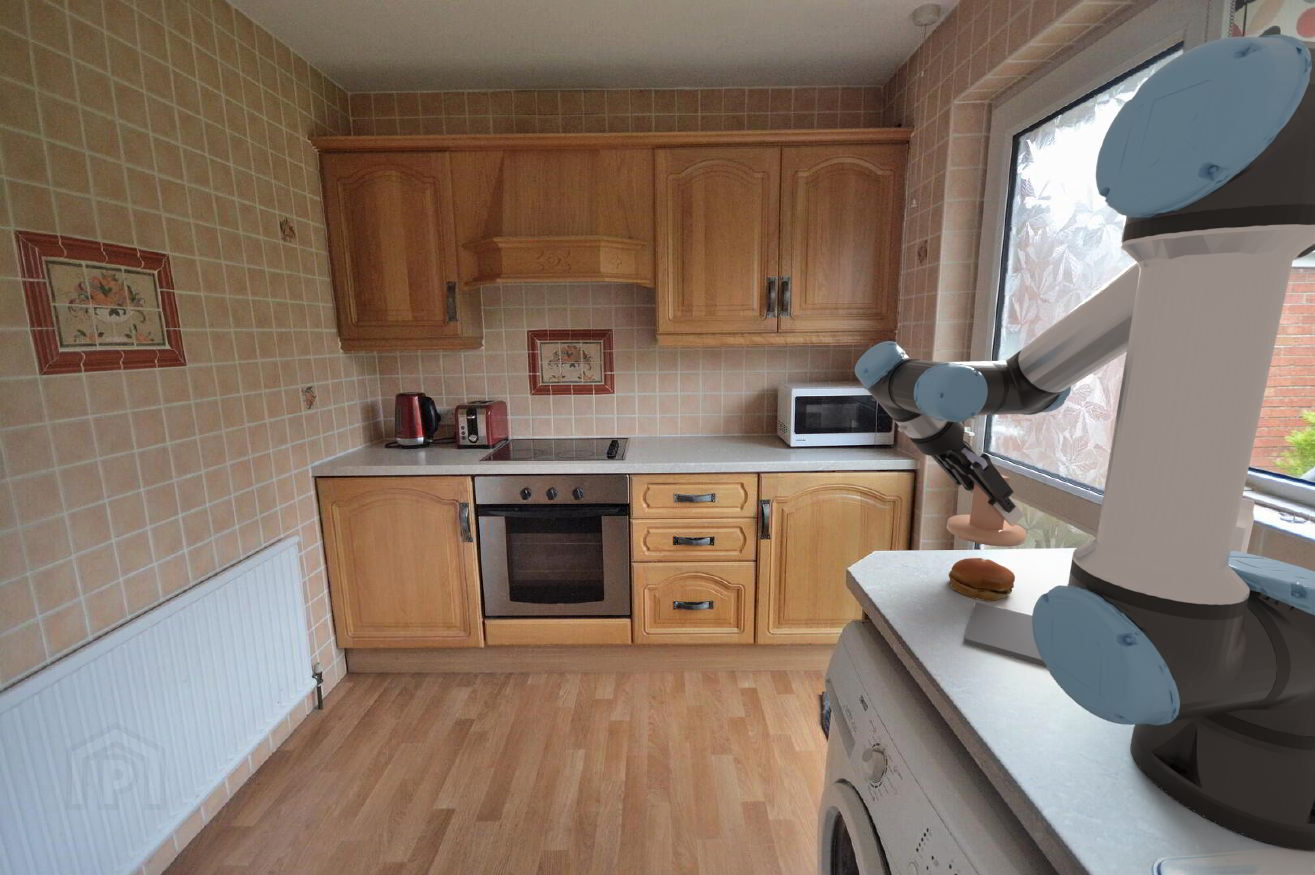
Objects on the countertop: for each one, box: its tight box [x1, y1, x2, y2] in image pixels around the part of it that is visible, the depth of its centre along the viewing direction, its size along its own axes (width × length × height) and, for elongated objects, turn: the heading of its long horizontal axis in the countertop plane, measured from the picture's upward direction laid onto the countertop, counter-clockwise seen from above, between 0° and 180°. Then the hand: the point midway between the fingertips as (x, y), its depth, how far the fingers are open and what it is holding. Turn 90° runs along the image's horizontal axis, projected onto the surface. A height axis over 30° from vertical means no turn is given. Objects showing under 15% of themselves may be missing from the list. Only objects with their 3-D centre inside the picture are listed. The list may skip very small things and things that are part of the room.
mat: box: [963, 601, 1048, 668], centre depth 82 cm, size 13×14×1 cm
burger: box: [948, 557, 1016, 602], centre depth 97 cm, size 10×9×5 cm
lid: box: [946, 474, 1027, 548], centre depth 95 cm, size 12×12×10 cm
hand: (1007, 515), depth 96 cm, fingers closed on lid, 3 cm apart
